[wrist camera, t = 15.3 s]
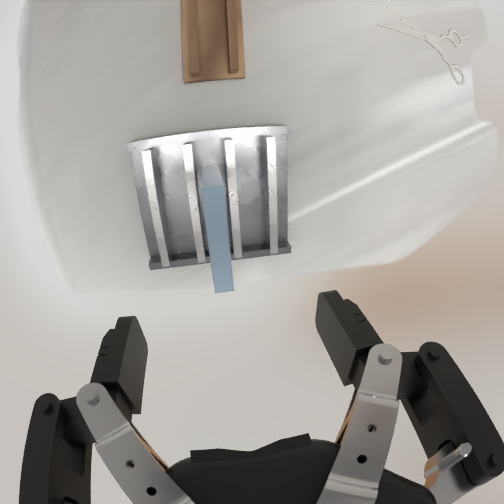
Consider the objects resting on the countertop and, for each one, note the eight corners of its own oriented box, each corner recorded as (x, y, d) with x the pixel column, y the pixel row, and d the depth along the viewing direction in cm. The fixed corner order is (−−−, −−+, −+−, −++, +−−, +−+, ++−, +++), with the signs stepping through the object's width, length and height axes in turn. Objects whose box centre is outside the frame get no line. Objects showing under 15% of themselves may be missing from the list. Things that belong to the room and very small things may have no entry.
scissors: (470, 90, 26) (375, 44, 23) (466, 90, 27) (371, 45, 23) (467, 36, 21) (371, -19, 18) (464, 36, 22) (368, -17, 19)
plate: (211, 246, 31) (215, 293, 23) (202, 167, 27) (201, 188, 19) (225, 244, 31) (234, 290, 23) (218, 165, 27) (223, 185, 19)
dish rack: (153, 259, 32) (148, 277, 28) (132, 141, 25) (121, 145, 21) (285, 243, 33) (294, 259, 30) (283, 125, 27) (294, 126, 23)
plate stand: (184, 83, 23) (182, 79, 21) (181, -3, 18) (180, -14, 15) (243, 78, 24) (248, 73, 21) (238, -7, 19) (242, -18, 16)
